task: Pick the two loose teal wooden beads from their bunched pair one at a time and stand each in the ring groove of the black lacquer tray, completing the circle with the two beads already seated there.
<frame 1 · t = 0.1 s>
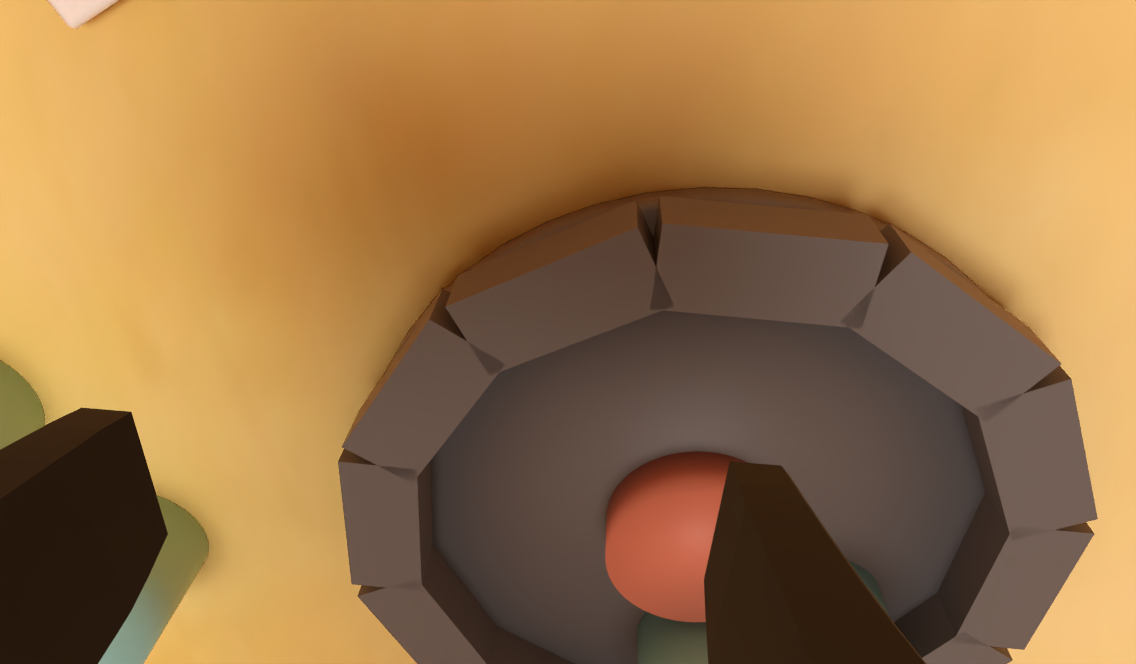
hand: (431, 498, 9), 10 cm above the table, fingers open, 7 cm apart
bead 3: (697, 634, 24), point 1 cm above the table, touching ring tray
bead 4: (814, 601, 23), point 1 cm above the table, touching ring tray
ring tray: (691, 494, 23), on the table
bead 2: (150, 534, 25), on the table
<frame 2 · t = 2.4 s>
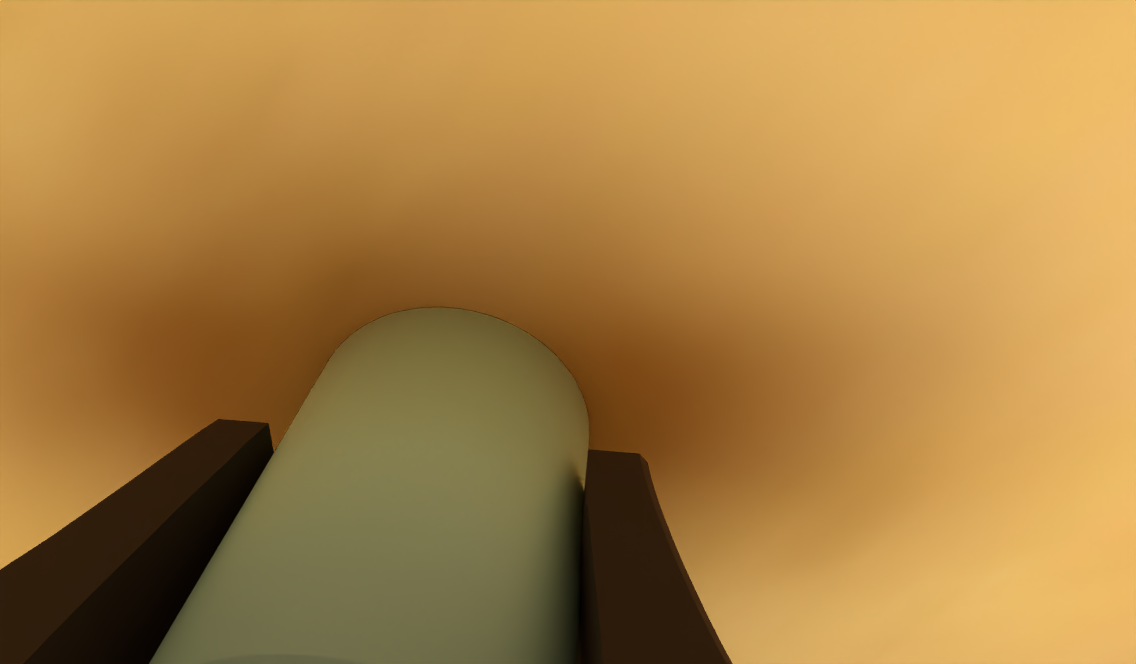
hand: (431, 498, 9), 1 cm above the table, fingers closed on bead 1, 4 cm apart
bead 1: (453, 426, 11), on the table, touching gripper
when the fingers open (3 cm above the table, at t = 5.8 s): bead 1 stays where it is, resting on ring tray.
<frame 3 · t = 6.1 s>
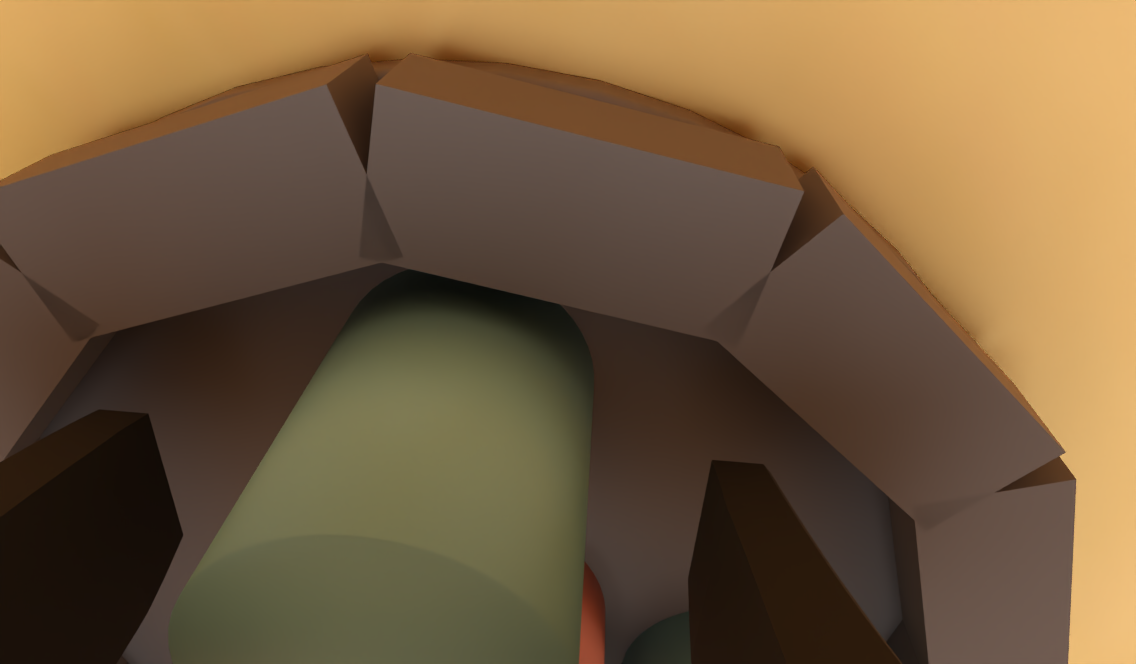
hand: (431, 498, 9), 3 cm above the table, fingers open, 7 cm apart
bead 1: (466, 377, 11), point 1 cm above the table, touching ring tray
ring tray: (478, 564, 15), on the table
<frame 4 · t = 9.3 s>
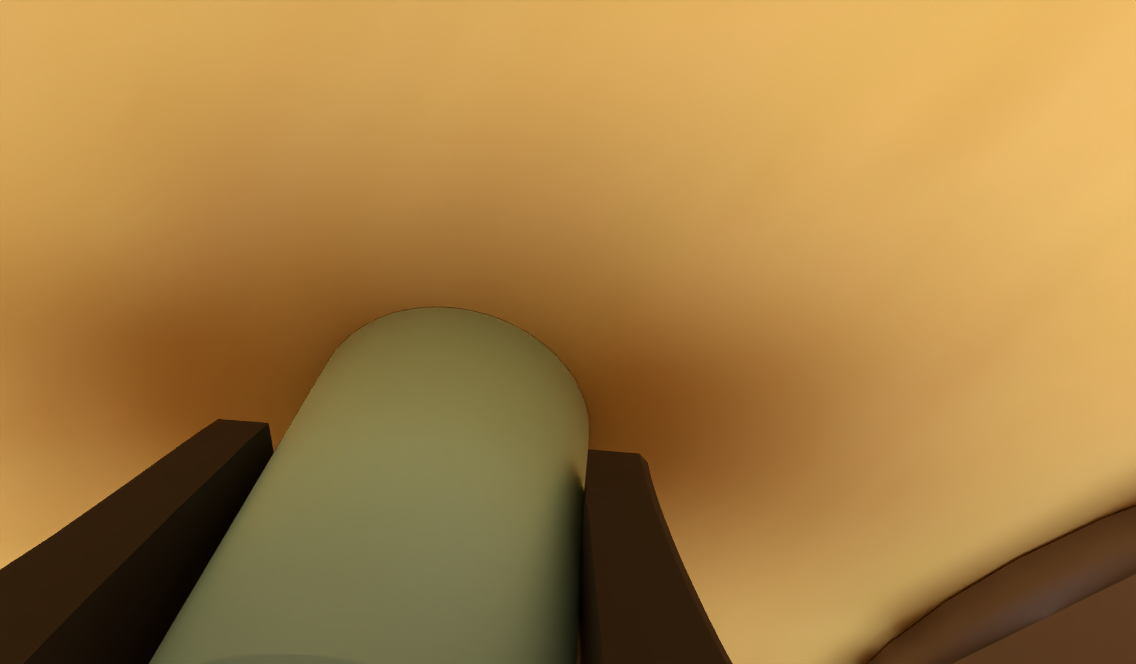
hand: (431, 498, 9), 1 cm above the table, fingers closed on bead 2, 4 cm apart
bead 2: (453, 426, 11), on the table, touching gripper
when the fingers open (3 cm above the table, at t = 12.2 s): bead 2 stays where it is, resting on ring tray.
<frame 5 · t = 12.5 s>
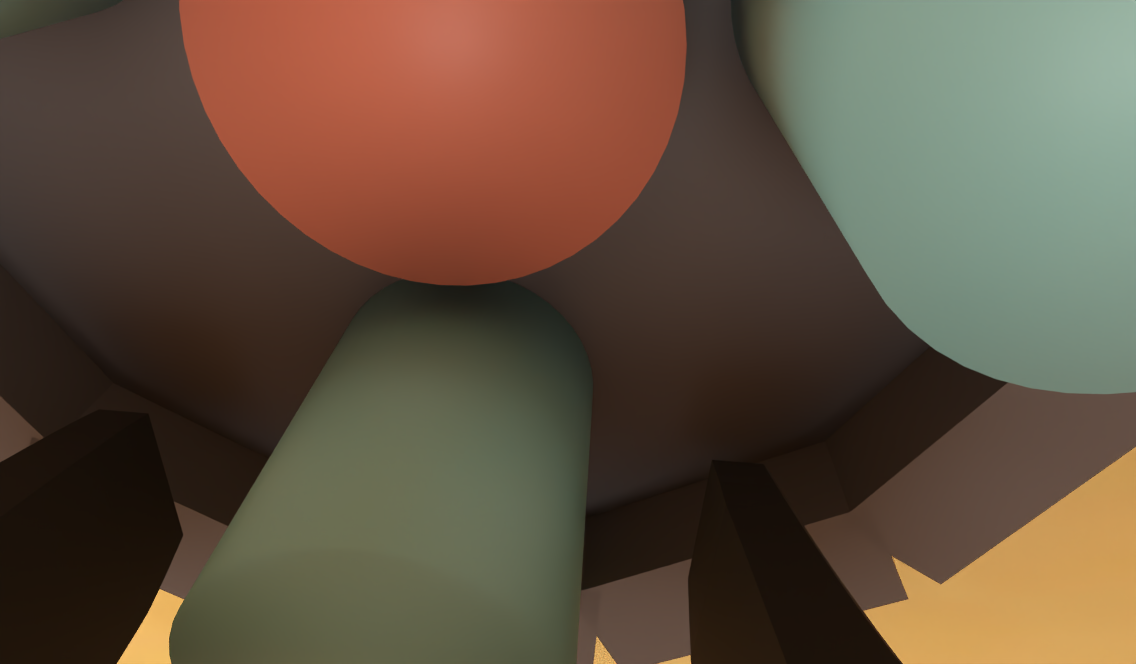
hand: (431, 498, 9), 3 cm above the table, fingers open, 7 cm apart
ring tray: (473, 19, 10), on the table
bead 2: (466, 383, 11), point 1 cm above the table, touching ring tray
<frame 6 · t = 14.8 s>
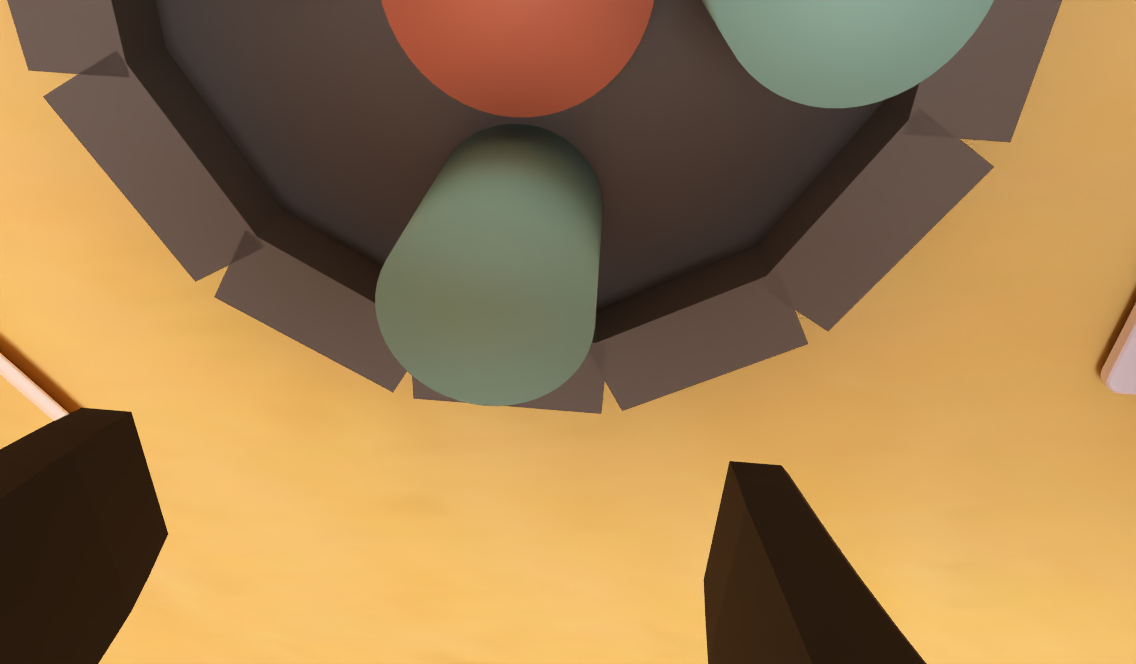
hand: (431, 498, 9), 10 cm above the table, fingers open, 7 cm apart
bead 2: (519, 206, 17), point 1 cm above the table, touching ring tray
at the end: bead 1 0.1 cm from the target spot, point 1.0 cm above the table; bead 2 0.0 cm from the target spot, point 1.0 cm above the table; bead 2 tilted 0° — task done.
